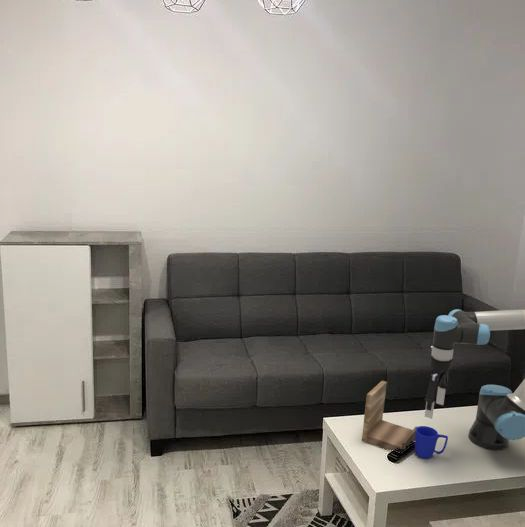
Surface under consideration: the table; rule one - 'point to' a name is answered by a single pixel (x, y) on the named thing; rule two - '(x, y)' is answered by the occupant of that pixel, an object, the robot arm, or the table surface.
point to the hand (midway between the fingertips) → (434, 410)
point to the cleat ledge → (390, 436)
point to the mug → (427, 441)
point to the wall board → (374, 409)
